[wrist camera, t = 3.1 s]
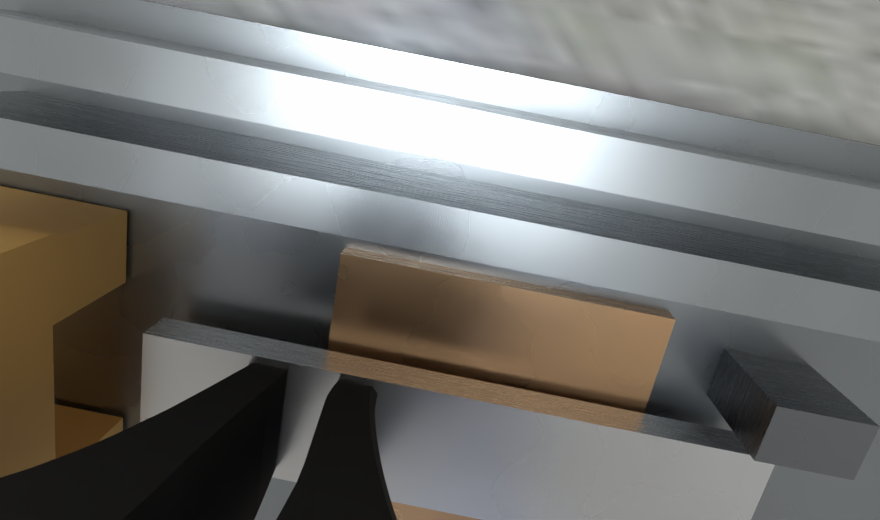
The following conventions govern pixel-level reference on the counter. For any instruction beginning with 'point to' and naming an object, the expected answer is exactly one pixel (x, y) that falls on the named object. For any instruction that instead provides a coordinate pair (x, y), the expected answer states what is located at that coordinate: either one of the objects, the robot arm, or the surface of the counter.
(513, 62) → the counter surface
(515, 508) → the strap
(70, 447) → the clip
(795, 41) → the counter surface
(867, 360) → the grey fixture base plate
